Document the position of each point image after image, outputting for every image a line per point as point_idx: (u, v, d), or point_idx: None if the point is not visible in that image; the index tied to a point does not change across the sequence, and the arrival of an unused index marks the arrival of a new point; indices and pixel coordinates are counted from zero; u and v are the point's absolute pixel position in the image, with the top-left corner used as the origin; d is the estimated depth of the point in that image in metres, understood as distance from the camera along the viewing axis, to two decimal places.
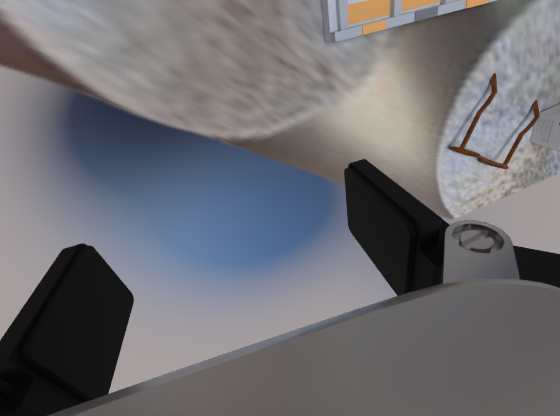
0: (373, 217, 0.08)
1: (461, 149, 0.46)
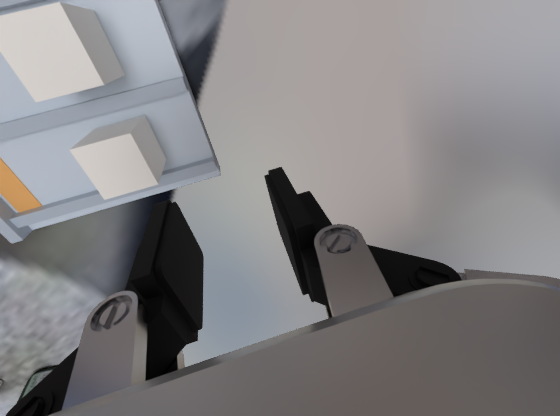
0: (280, 220, 0.09)
1: None
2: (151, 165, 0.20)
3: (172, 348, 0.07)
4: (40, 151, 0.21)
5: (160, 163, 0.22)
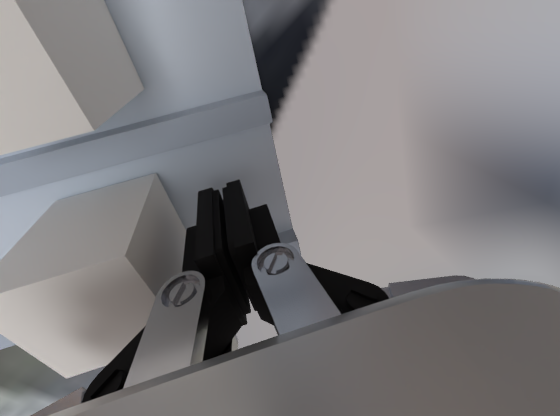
0: None
1: None
2: None
3: (231, 328, 0.07)
4: None
5: None
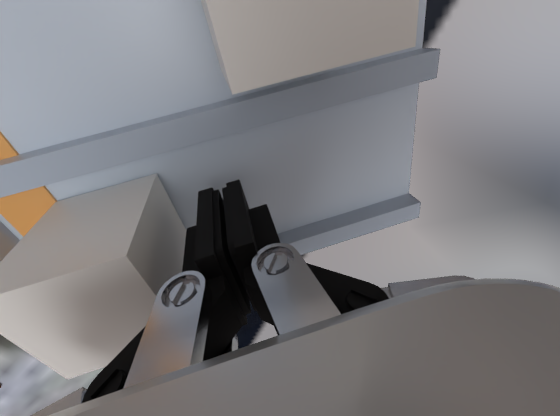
0: None
1: None
2: None
3: (231, 328, 0.07)
4: None
5: None
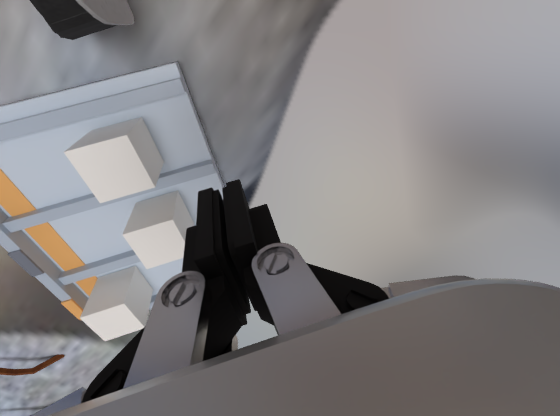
0: None
1: None
2: (139, 314, 0.26)
3: (231, 328, 0.07)
4: None
5: (147, 301, 0.29)
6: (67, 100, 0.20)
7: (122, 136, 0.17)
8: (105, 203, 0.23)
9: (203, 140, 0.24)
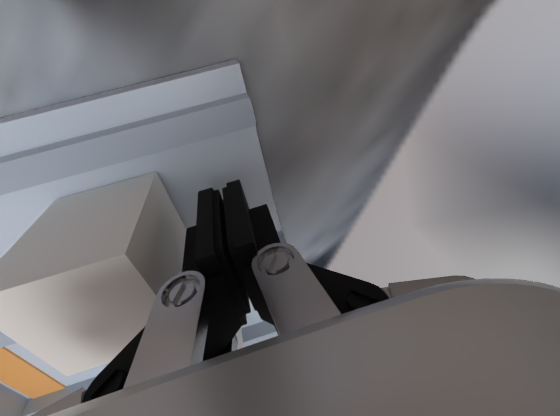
0: None
1: None
2: None
3: (231, 328, 0.07)
4: None
5: None
6: (11, 142, 0.09)
7: (114, 257, 0.07)
8: None
9: (272, 203, 0.13)
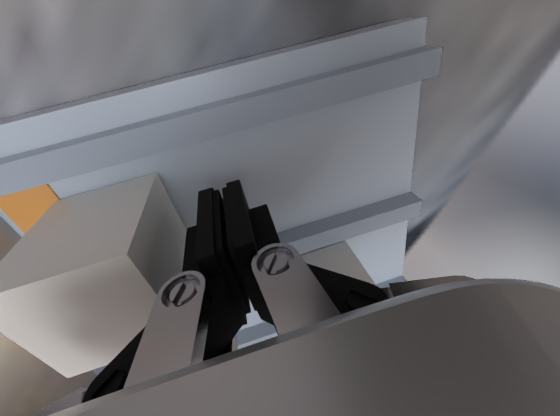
0: None
1: None
2: None
3: (231, 328, 0.07)
4: None
5: None
6: (219, 89, 0.10)
7: (115, 257, 0.07)
8: None
9: (411, 162, 0.14)
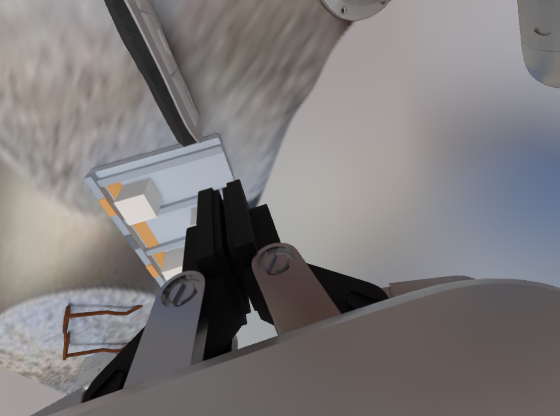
0: None
1: (65, 316, 0.49)
2: None
3: (231, 328, 0.07)
4: None
5: None
6: (163, 157, 0.39)
7: (141, 194, 0.36)
8: (176, 209, 0.42)
9: (230, 174, 0.42)
